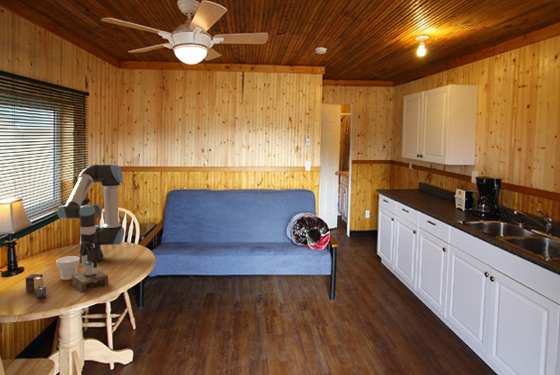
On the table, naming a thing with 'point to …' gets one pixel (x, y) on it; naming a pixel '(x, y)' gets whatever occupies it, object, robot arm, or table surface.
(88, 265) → the long pin
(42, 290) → the short pin
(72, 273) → the cup
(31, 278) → the box
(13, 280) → the table surface
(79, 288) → the bracket
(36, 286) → the medium pin
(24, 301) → the table surface
